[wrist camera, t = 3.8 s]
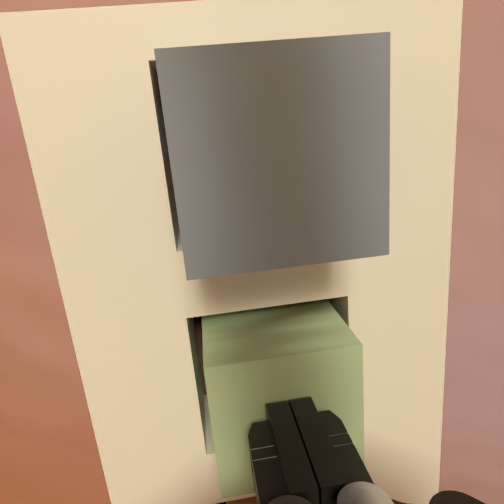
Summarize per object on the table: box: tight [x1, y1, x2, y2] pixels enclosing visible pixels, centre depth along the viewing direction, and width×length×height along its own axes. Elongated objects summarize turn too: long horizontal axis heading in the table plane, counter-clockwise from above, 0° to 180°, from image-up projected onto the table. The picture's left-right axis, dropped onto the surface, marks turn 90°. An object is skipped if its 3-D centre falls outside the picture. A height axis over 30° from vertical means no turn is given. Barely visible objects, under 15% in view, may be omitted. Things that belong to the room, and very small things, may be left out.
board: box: [0, 0, 463, 504], centre depth 18 cm, size 14×26×4 cm, turn 5°
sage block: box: [202, 299, 365, 499], centre depth 16 cm, size 5×5×6 cm
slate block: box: [154, 32, 390, 281], centre depth 12 cm, size 5×5×6 cm
